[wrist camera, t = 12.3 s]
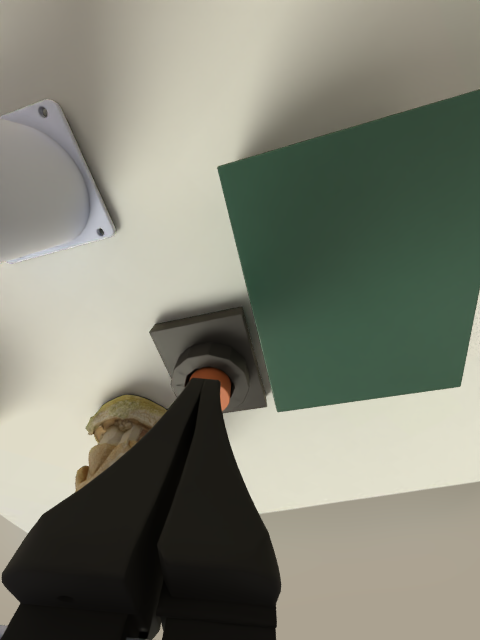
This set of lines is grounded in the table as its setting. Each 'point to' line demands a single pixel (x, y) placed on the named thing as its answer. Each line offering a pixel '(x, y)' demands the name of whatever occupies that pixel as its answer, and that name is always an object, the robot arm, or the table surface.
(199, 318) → the switch block
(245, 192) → the lid
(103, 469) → the ceramic model
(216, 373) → the button
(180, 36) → the table surface
